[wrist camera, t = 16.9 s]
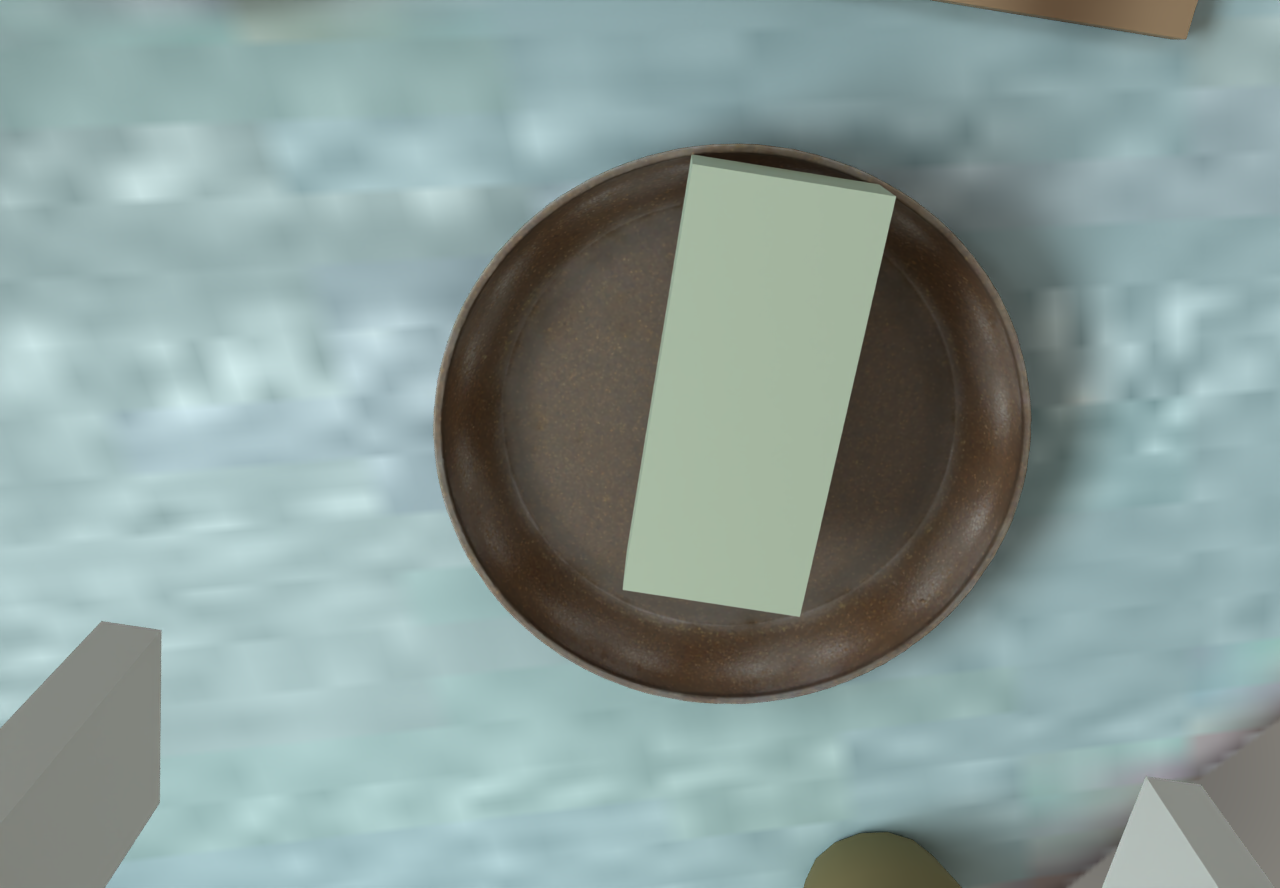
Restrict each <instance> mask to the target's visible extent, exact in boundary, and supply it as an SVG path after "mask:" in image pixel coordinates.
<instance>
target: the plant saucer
mask: <svg viewBox="0 0 1280 888" xmlns="http://www.w3.org/2000/svg"><path fill="white" fill-rule="evenodd" d="M692 154H693V155H700V156H706V157H712V158H718V159H725V160H731V161H737V162H743V163H749V164H756V165H762V166H768V167H774V168H781V169H787V170H793V171H799V172H806V173H812V174H818V175H824V176H831V177H837V178H843V179H849V180H856V181H862V182H868V183H874V184H879V185H881V186H882V187H883V188H885V189H886V190H888V191H889V192H890V193H892V194H893V195H895V196H896V199H895V204H894V208H893V212H892V217H891V221H890V225H889V230H888V234H887V239H886V243H885V247H884V252H883V256H882V260H881V265H880V269H879V273H878V278H877V282H876V287H875V291H874V295H873V300H872V304H871V308H870V313H869V317H868V321H867V326H866V330H865V335H864V339H863V343H862V348H861V352H860V356H859V361H858V365H857V369H856V374H855V378H854V383H853V387H852V391H851V396H850V400H849V404H848V409H847V413H846V417H845V422H844V426H843V431H842V435H841V439H840V444H839V448H838V452H837V457H836V461H835V465H834V470H833V474H832V479H831V483H830V487H829V492H828V496H827V500H826V505H825V509H824V513H823V518H822V522H821V527H820V531H819V535H818V540H817V544H816V548H815V553H814V557H813V561H812V566H811V570H810V575H809V579H808V583H807V588H806V592H805V596H804V601H803V605H802V609H801V614H800V617H797V616H791V615H784V614H778V613H771V612H764V611H758V610H751V609H745V608H738V607H732V606H725V605H719V604H712V603H705V602H699V601H692V600H686V599H679V598H673V597H666V596H660V595H653V594H647V593H640V592H633V591H627V590H623V581H624V572H625V563H626V554H627V547H628V540H629V534H630V528H631V522H632V516H633V510H634V504H635V498H636V491H637V485H638V479H639V473H640V467H641V461H642V455H643V449H644V442H645V436H646V430H647V424H648V418H649V412H650V406H651V400H652V393H653V387H654V381H655V375H656V369H657V363H658V357H659V351H660V345H661V338H662V332H663V326H664V320H665V314H666V308H667V302H668V296H669V289H670V283H671V277H672V271H673V265H674V259H675V253H676V247H677V240H678V234H679V228H680V222H681V216H682V210H683V204H684V198H685V191H686V185H687V179H688V173H689V167H690V161H691V155H692ZM433 435H434V447H435V458H436V467H437V473H438V478H439V483H440V487H441V491H442V495H443V499H444V502H445V506H446V509H447V512H448V514H449V517H450V519H451V522H452V524H453V527H454V530H455V532H456V534H457V537H458V539H459V541H460V543H461V545H462V548H463V549H464V551H465V553H466V555H467V557H468V558H469V560H470V562H471V564H472V565H473V567H474V568H475V570H476V571H477V573H478V574H479V575H480V576H481V578H482V579H483V581H484V582H485V584H486V586H487V587H488V588H489V590H490V591H491V592H492V593H493V595H494V596H495V597H496V599H497V600H498V601H499V602H500V603H501V604H502V606H503V607H504V608H505V609H506V610H507V611H508V612H509V613H510V614H511V615H512V616H513V617H514V618H515V619H516V620H517V621H518V622H519V623H520V624H522V625H523V626H524V627H525V628H526V629H527V630H528V631H529V632H530V633H531V634H533V635H534V636H535V637H537V638H538V639H539V640H541V641H542V642H543V643H544V644H546V645H547V646H549V647H550V648H551V649H553V650H554V651H556V652H557V653H558V654H560V655H561V656H563V657H565V658H566V659H568V660H570V661H572V662H573V663H575V664H577V665H579V666H580V667H582V668H584V669H586V670H588V671H590V672H592V673H594V674H596V675H598V676H601V677H603V678H605V679H607V680H610V681H613V682H615V683H618V684H621V685H623V686H626V687H628V688H631V689H635V690H638V691H641V692H644V693H648V694H652V695H657V696H662V697H667V698H672V699H678V700H683V701H690V702H699V703H715V704H724V703H727V704H748V703H758V702H768V701H775V700H782V699H788V698H793V697H798V696H802V695H807V694H811V693H814V692H818V691H821V690H824V689H828V688H831V687H834V686H836V685H838V684H841V683H844V682H847V681H849V680H851V679H853V678H855V677H858V676H860V675H862V674H865V673H867V672H869V671H871V670H873V669H874V668H876V667H878V666H881V665H883V664H885V663H886V662H888V661H889V660H891V659H892V658H894V657H896V656H898V655H899V654H900V653H902V652H904V651H906V650H907V649H908V648H909V647H911V646H912V645H913V644H915V643H916V642H917V641H919V640H920V639H922V638H923V637H924V636H925V635H927V634H928V633H929V632H931V631H932V630H933V629H934V628H935V627H936V626H937V625H938V624H939V623H941V622H942V621H943V620H944V619H945V618H946V617H947V616H948V615H949V614H950V613H951V612H952V611H953V610H954V609H955V608H956V607H957V606H958V605H959V604H960V603H961V601H962V600H963V599H964V598H965V597H966V595H967V594H968V593H969V592H970V591H971V589H972V588H973V587H974V585H975V584H976V582H977V581H978V580H979V578H980V577H981V575H982V574H983V572H984V571H985V570H986V568H987V567H988V565H989V564H990V562H991V561H992V559H993V558H994V556H995V554H996V552H997V550H998V548H999V546H1000V545H1001V543H1002V541H1003V539H1004V537H1005V535H1006V533H1007V531H1008V529H1009V527H1010V524H1011V522H1012V520H1013V517H1014V514H1015V511H1016V508H1017V505H1018V502H1019V498H1020V495H1021V492H1022V488H1023V485H1024V480H1025V476H1026V471H1027V463H1028V457H1029V450H1030V439H1031V405H1030V393H1029V385H1028V379H1027V374H1026V368H1025V363H1024V359H1023V355H1022V352H1021V348H1020V344H1019V341H1018V337H1017V334H1016V332H1015V329H1014V326H1013V324H1012V321H1011V319H1010V316H1009V314H1008V312H1007V310H1006V308H1005V306H1004V304H1003V302H1002V300H1001V298H1000V296H999V294H998V292H997V290H996V289H995V287H994V286H993V284H992V282H991V280H990V279H989V277H988V275H987V274H986V273H985V271H984V270H983V269H982V267H981V266H980V265H979V263H978V262H977V261H976V259H975V258H974V257H973V255H972V254H971V253H970V252H969V250H968V249H967V248H966V247H965V246H964V245H963V243H962V242H961V241H960V240H959V239H958V238H957V237H956V236H955V235H954V234H953V233H952V232H951V230H949V229H948V228H947V227H946V226H945V225H944V224H943V223H942V222H941V221H940V220H939V219H937V218H936V217H935V216H934V215H933V214H931V213H930V212H929V211H928V210H926V209H925V208H924V207H922V206H921V205H920V204H919V203H917V202H916V201H915V200H913V199H912V198H910V197H909V196H907V195H905V194H904V193H902V192H901V191H899V190H897V189H896V188H894V187H892V186H890V185H889V184H887V183H885V182H883V181H881V180H880V179H878V178H876V177H874V176H872V175H870V174H868V173H866V172H863V171H861V170H859V169H856V168H854V167H851V166H849V165H846V164H843V163H840V162H838V161H835V160H832V159H828V158H825V157H822V156H819V155H815V154H811V153H807V152H803V151H799V150H795V149H789V148H781V147H774V146H766V145H758V144H712V145H702V146H694V147H687V148H680V149H675V150H671V151H667V152H662V153H658V154H654V155H650V156H646V157H643V158H640V159H637V160H634V161H631V162H628V163H626V164H623V165H620V166H618V167H616V168H613V169H611V170H608V171H606V172H604V173H601V174H599V175H597V176H595V177H593V178H591V179H589V180H587V181H585V182H584V183H582V184H580V185H578V186H577V187H575V188H573V189H572V190H570V191H568V192H567V193H565V194H563V195H562V196H560V197H558V198H557V199H556V200H554V201H553V202H551V203H550V204H549V205H547V206H546V207H545V208H543V209H542V210H541V211H540V212H538V213H537V214H536V215H535V216H534V217H533V218H531V219H530V220H529V221H528V222H527V223H526V224H524V225H523V226H522V227H521V228H520V229H519V230H518V231H517V232H516V233H515V234H514V235H513V236H512V237H511V238H510V240H509V241H508V242H507V243H506V244H505V245H504V246H503V247H502V248H501V249H500V250H499V251H498V253H497V254H496V255H495V257H494V258H493V259H492V260H491V262H490V263H489V264H488V266H487V267H486V268H485V270H484V271H483V273H482V274H481V276H480V277H479V279H478V280H477V282H476V283H475V285H474V287H473V288H472V290H471V292H470V294H469V295H468V297H467V299H466V301H465V302H464V304H463V306H462V308H461V310H460V312H459V314H458V317H457V319H456V321H455V324H454V326H453V328H452V331H451V334H450V336H449V339H448V342H447V345H446V349H445V352H444V356H443V359H442V363H441V367H440V372H439V376H438V381H437V388H436V396H435V406H434V424H433Z"/></svg>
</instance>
